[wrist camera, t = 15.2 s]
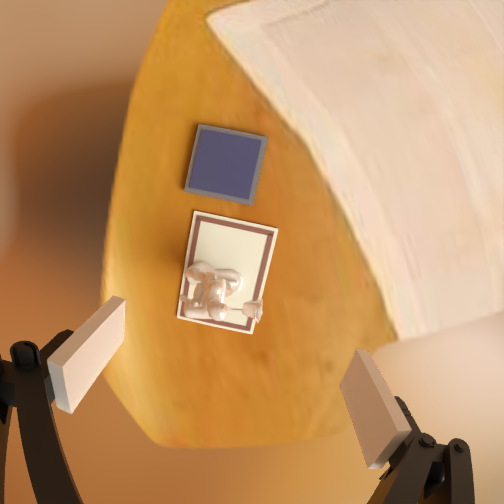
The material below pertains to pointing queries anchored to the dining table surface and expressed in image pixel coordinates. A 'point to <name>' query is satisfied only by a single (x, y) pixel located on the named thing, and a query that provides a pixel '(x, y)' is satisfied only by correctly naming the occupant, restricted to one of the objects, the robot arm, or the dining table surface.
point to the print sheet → (230, 262)
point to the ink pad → (225, 164)
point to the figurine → (215, 293)
